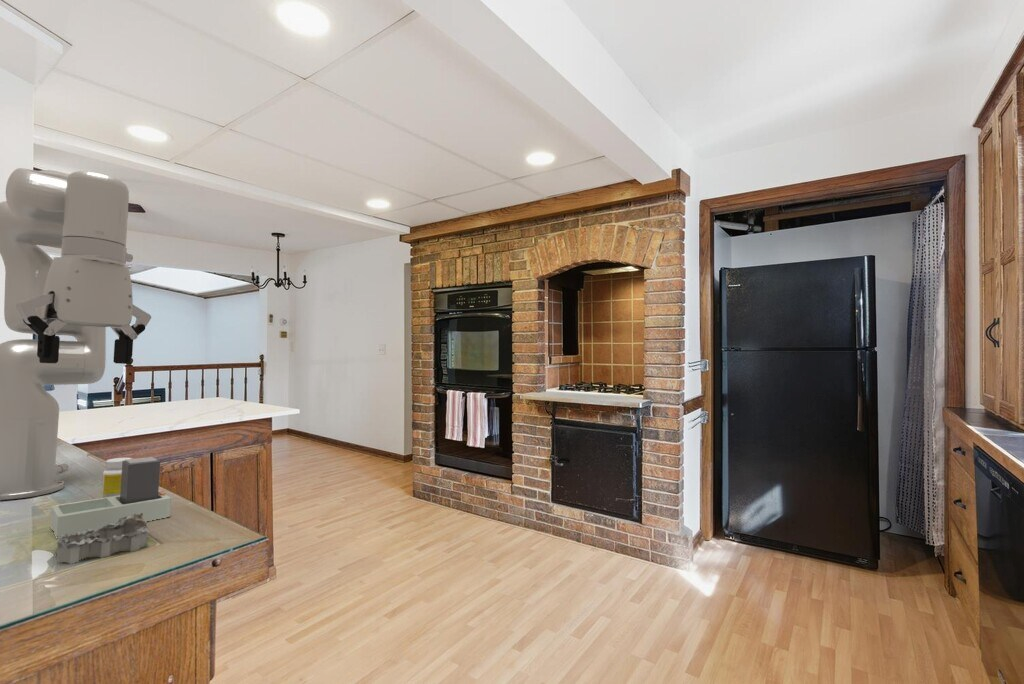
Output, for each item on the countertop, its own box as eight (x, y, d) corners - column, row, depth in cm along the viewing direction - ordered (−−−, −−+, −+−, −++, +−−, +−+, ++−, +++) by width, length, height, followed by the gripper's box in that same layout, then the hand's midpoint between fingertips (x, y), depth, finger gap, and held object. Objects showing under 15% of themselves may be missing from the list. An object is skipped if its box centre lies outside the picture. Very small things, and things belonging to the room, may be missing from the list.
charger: (125, 511, 83) (128, 463, 83) (119, 505, 86) (122, 459, 86) (157, 505, 87) (160, 460, 87) (150, 500, 90) (153, 456, 90)
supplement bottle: (135, 501, 95) (138, 459, 95) (105, 507, 91) (108, 463, 91) (126, 497, 98) (128, 456, 98) (96, 502, 94) (99, 459, 94)
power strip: (56, 539, 75) (58, 515, 75) (49, 526, 80) (51, 503, 81) (169, 517, 87) (171, 496, 87) (157, 507, 92) (158, 487, 92)
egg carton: (145, 536, 78) (146, 511, 79) (149, 551, 73) (151, 524, 73) (55, 551, 71) (57, 524, 72) (52, 569, 66) (54, 539, 66)
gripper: (137, 266, 84) (131, 363, 83) (6, 242, 68) (-2, 362, 67) (167, 264, 82) (161, 364, 81) (38, 238, 65) (30, 363, 65)
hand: (87, 363), depth 74 cm, fingers open, 9 cm apart
